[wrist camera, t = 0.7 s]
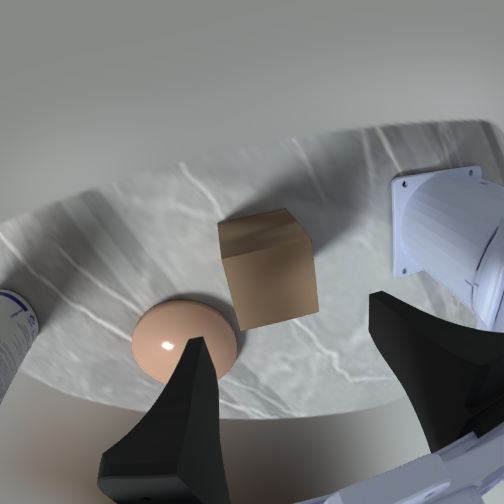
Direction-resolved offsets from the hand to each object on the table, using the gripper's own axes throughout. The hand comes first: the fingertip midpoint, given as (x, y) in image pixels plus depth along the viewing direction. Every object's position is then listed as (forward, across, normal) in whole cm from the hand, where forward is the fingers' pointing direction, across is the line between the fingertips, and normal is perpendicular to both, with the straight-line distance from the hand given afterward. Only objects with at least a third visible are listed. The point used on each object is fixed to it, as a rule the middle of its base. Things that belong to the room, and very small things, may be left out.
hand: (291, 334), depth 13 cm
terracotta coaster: (+9, +7, +6) cm, 13 cm away
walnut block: (+10, 0, 0) cm, 10 cm away
